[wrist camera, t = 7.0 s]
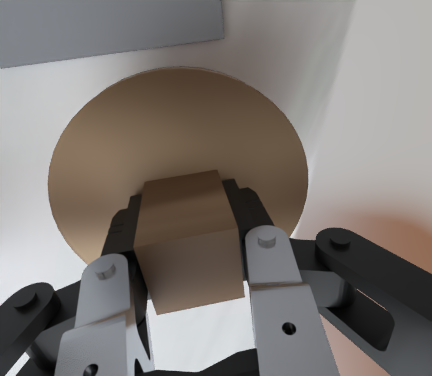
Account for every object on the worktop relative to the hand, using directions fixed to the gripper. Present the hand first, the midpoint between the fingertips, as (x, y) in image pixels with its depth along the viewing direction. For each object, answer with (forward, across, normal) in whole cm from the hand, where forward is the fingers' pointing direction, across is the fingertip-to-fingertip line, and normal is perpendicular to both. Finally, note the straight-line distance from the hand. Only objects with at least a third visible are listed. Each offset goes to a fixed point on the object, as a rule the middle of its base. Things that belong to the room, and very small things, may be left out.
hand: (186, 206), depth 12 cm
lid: (+1, 0, 0) cm, 1 cm away
